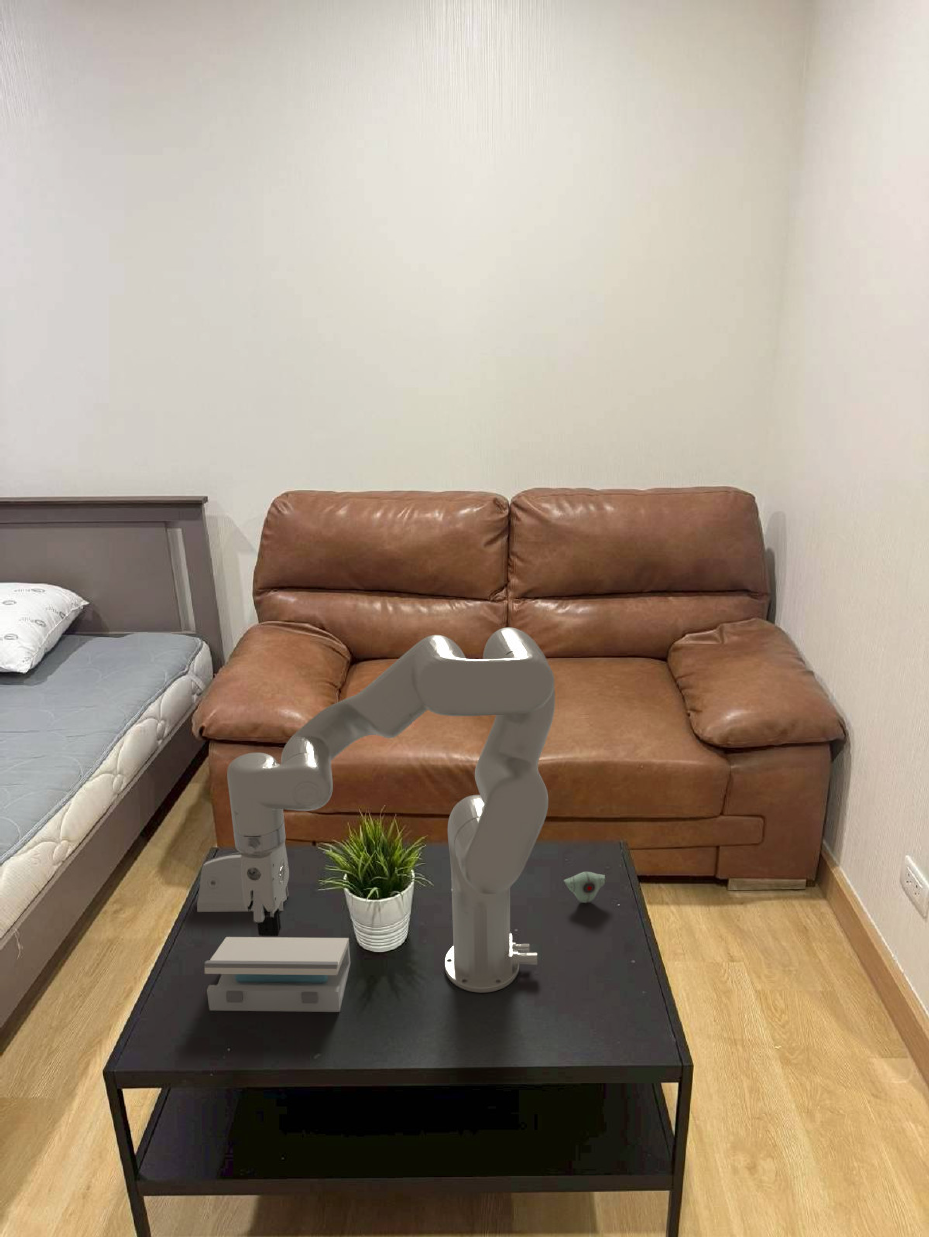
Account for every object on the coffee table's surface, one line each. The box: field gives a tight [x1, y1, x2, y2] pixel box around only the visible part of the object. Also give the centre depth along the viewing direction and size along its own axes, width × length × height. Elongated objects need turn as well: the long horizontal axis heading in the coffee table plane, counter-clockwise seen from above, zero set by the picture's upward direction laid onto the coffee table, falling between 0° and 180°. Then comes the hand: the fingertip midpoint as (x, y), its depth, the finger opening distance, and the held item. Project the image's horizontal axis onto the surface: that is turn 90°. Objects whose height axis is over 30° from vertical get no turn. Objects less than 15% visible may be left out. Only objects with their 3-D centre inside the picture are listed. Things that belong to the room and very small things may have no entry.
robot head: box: [563, 871, 606, 904], centre depth 166 cm, size 8×4×7 cm, turn 100°
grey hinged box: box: [206, 944, 351, 1013], centre depth 147 cm, size 21×12×4 cm, turn 88°
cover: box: [204, 936, 350, 975], centre depth 146 cm, size 21×11×2 cm, turn 88°
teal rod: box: [235, 974, 328, 983], centre depth 148 cm, size 15×1×1 cm, turn 88°
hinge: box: [196, 852, 289, 913], centre depth 169 cm, size 17×5×10 cm, turn 89°
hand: (269, 932), depth 141 cm, fingers closed
